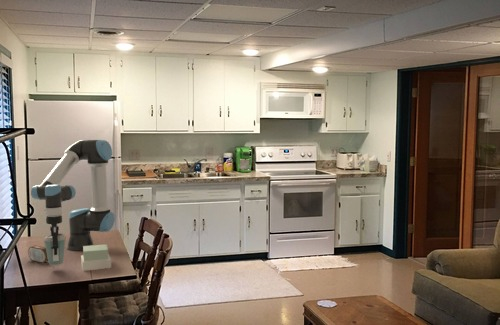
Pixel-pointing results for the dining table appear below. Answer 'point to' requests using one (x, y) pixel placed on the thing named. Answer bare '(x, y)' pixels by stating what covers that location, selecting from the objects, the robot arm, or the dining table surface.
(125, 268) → the dining table surface
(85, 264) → the base block
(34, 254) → the tin
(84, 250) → the top block
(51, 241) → the disposable coffee cup
